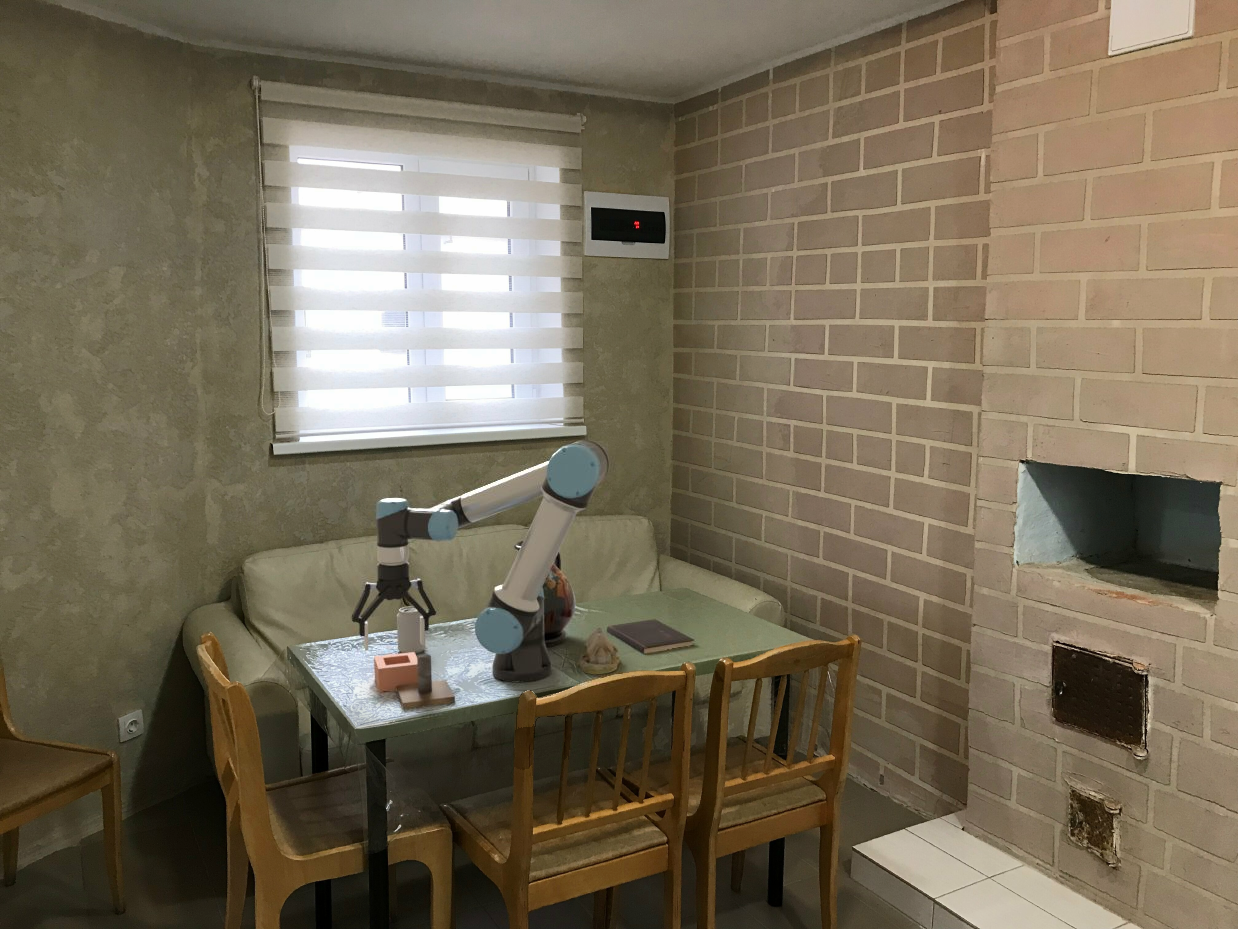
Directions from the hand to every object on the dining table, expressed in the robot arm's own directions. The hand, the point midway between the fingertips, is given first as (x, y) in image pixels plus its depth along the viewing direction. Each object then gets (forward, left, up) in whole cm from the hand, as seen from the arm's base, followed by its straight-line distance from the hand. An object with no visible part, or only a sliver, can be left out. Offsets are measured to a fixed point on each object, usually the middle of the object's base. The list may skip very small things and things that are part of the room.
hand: (394, 646), depth 240 cm
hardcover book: (-72, -12, -10) cm, 74 cm away
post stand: (-5, +12, -10) cm, 16 cm away
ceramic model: (-52, +5, -10) cm, 53 cm away
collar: (0, 0, -10) cm, 10 cm away
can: (-7, -25, -10) cm, 28 cm away
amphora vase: (-42, -22, -10) cm, 49 cm away
